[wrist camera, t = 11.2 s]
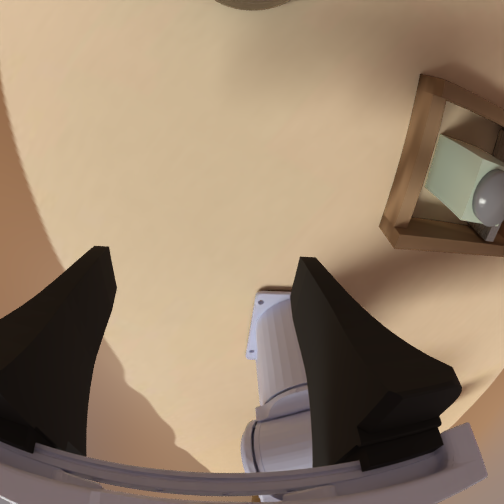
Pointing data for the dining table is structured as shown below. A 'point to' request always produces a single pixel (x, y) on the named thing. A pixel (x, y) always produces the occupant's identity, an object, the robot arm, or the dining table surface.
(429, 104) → the brown wooden shallow box
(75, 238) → the dining table surface
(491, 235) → the pusher plate
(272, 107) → the dining table surface
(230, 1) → the supplement bottle
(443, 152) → the jar
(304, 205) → the dining table surface
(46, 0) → the dining table surface
